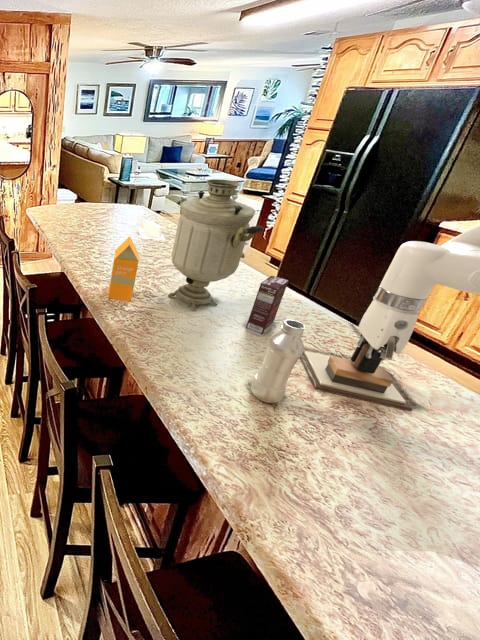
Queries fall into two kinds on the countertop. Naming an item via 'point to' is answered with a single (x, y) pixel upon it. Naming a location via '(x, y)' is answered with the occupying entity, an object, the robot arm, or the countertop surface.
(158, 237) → the napkin holder
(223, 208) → the samovar
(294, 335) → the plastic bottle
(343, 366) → the scrub brush
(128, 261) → the orange juice
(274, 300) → the supplement box
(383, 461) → the countertop surface
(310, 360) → the tile board
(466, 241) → the robot arm
